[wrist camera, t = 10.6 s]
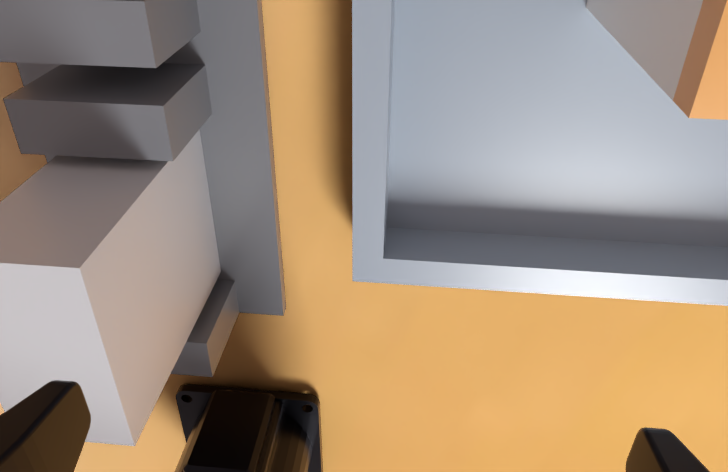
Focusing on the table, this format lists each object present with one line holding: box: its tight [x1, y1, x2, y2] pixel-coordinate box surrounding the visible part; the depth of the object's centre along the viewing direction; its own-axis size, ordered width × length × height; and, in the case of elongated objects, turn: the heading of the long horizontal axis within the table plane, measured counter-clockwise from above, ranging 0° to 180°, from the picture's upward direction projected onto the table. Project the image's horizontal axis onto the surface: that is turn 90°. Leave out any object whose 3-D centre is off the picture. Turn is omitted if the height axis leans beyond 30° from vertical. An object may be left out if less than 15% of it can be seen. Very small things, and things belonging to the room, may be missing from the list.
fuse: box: [0, 129, 221, 446], centre depth 18 cm, size 6×3×8 cm, turn 179°
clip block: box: [0, 0, 286, 377], centre depth 17 cm, size 21×8×4 cm, turn 179°
